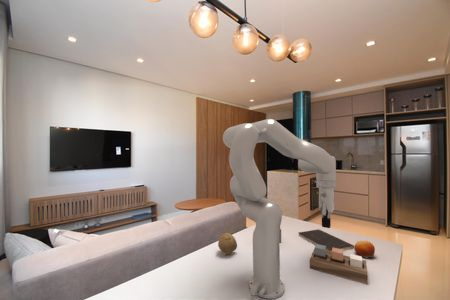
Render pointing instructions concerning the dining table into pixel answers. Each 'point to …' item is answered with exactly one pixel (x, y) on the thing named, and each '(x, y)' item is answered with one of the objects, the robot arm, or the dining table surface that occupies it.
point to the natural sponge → (227, 243)
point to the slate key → (320, 250)
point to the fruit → (364, 249)
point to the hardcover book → (325, 240)
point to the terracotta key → (337, 254)
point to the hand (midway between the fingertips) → (326, 226)
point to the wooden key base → (339, 267)
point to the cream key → (356, 261)
